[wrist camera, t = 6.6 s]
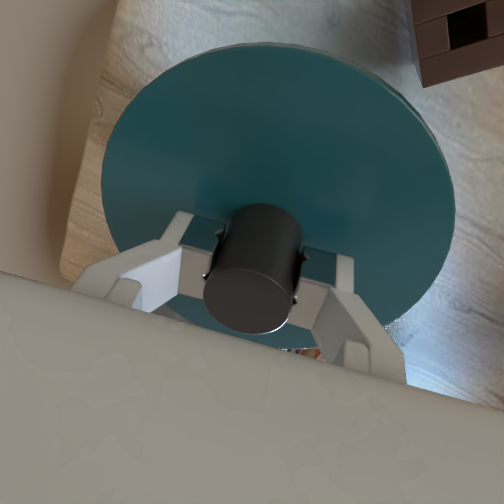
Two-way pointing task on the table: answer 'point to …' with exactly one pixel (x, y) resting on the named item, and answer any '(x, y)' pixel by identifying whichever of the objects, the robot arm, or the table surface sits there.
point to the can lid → (282, 182)
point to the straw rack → (455, 38)
